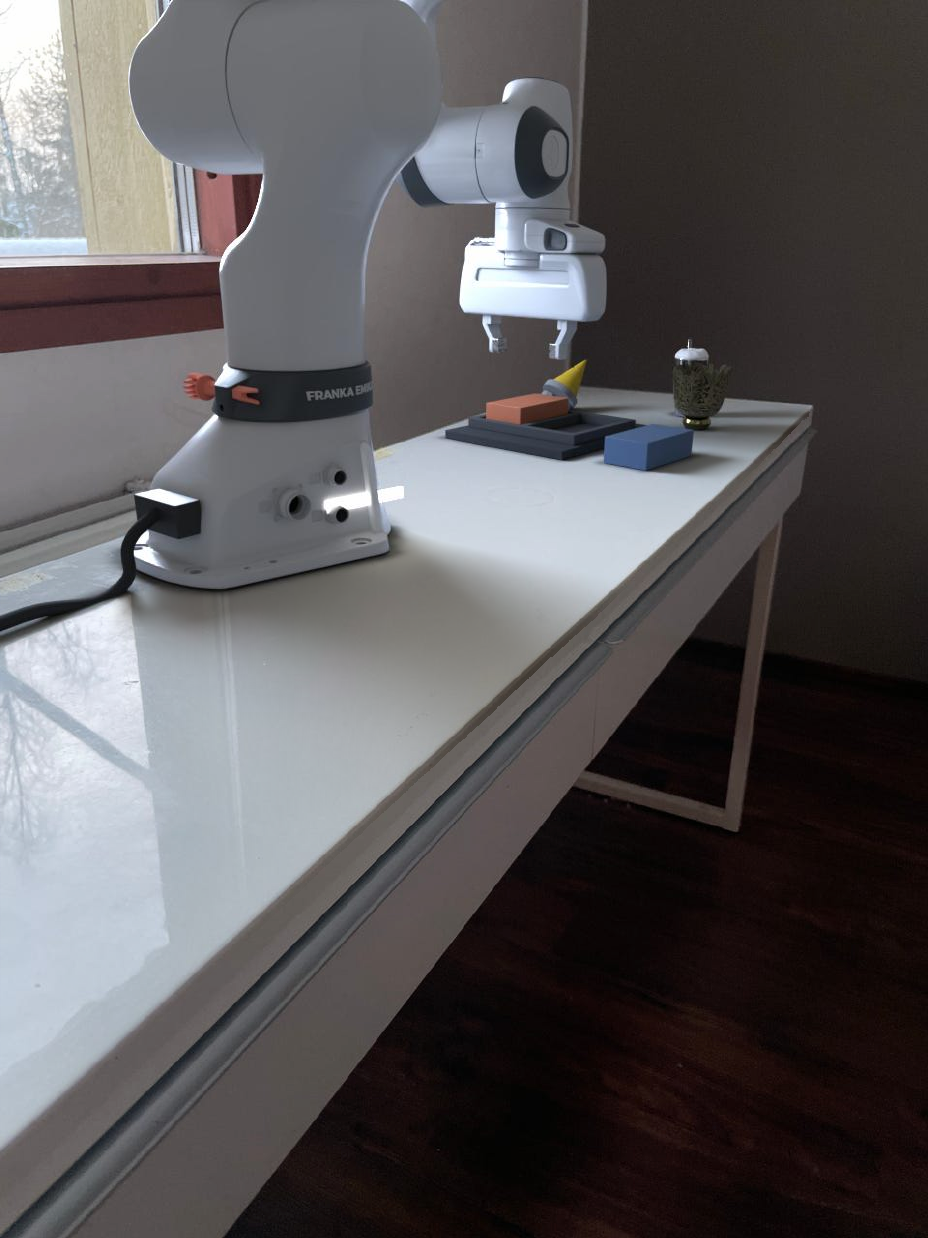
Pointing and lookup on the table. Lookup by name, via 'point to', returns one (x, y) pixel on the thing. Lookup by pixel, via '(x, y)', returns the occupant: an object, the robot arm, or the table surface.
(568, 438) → the backing plate
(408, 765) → the table surface
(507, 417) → the orange-red rectangular block
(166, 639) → the table surface
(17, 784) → the table surface
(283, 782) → the table surface
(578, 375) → the yellow cone tip
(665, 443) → the blue rectangular block
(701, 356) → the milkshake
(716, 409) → the cup
